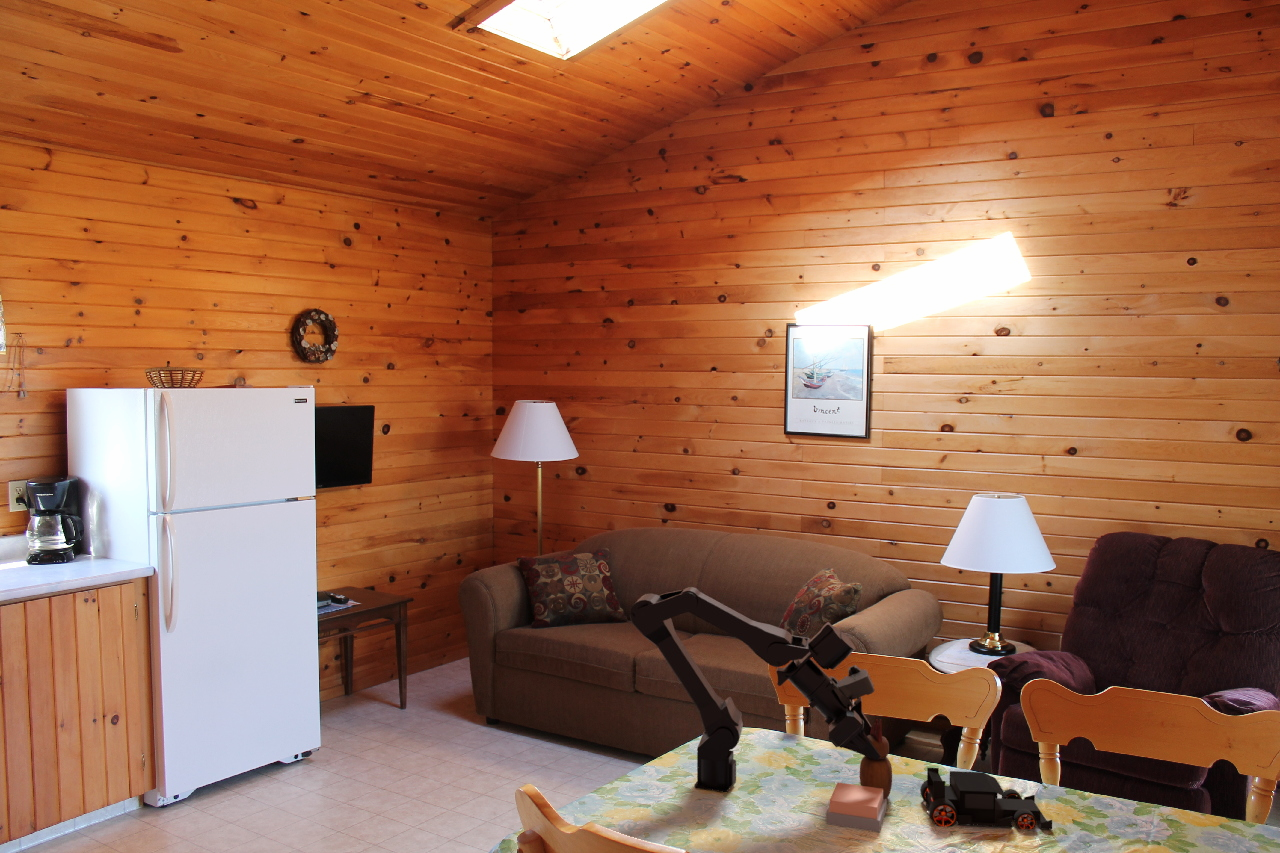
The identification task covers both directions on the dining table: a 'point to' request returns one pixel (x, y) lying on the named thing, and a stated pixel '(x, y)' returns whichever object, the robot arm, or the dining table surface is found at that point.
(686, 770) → the dining table surface
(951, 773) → the black toy car
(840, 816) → the brick plinth
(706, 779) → the robot arm
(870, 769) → the wooden figurine
